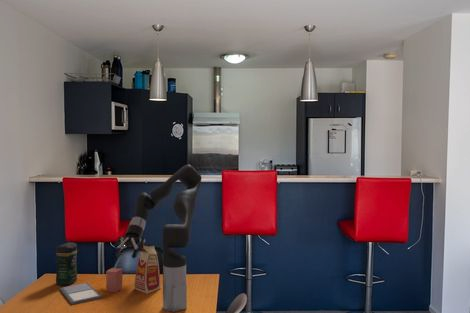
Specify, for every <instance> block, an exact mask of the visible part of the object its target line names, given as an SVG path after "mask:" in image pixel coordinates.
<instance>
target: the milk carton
mask: <svg viewBox="0 0 470 313" xmlns="http://www.w3.org/2000/svg"><path fill="white" fill-rule="evenodd" d="M155 247H156V246H155V245H152V246H147V245H144V246H143V249H142V250H141V251H139V256H138V262H137V265H136V266H137V267H136V270H135V278H134V284H133V285H134V286H133V288H134V289H135V290H136V291H138V292H141V293H144V294H146V295H147V294H150V293H152V292H155V291H158V290H159V289H161V273H160V272H161V271H160V264H159V259H158V252H157V251H156V249H155Z"/></svg>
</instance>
